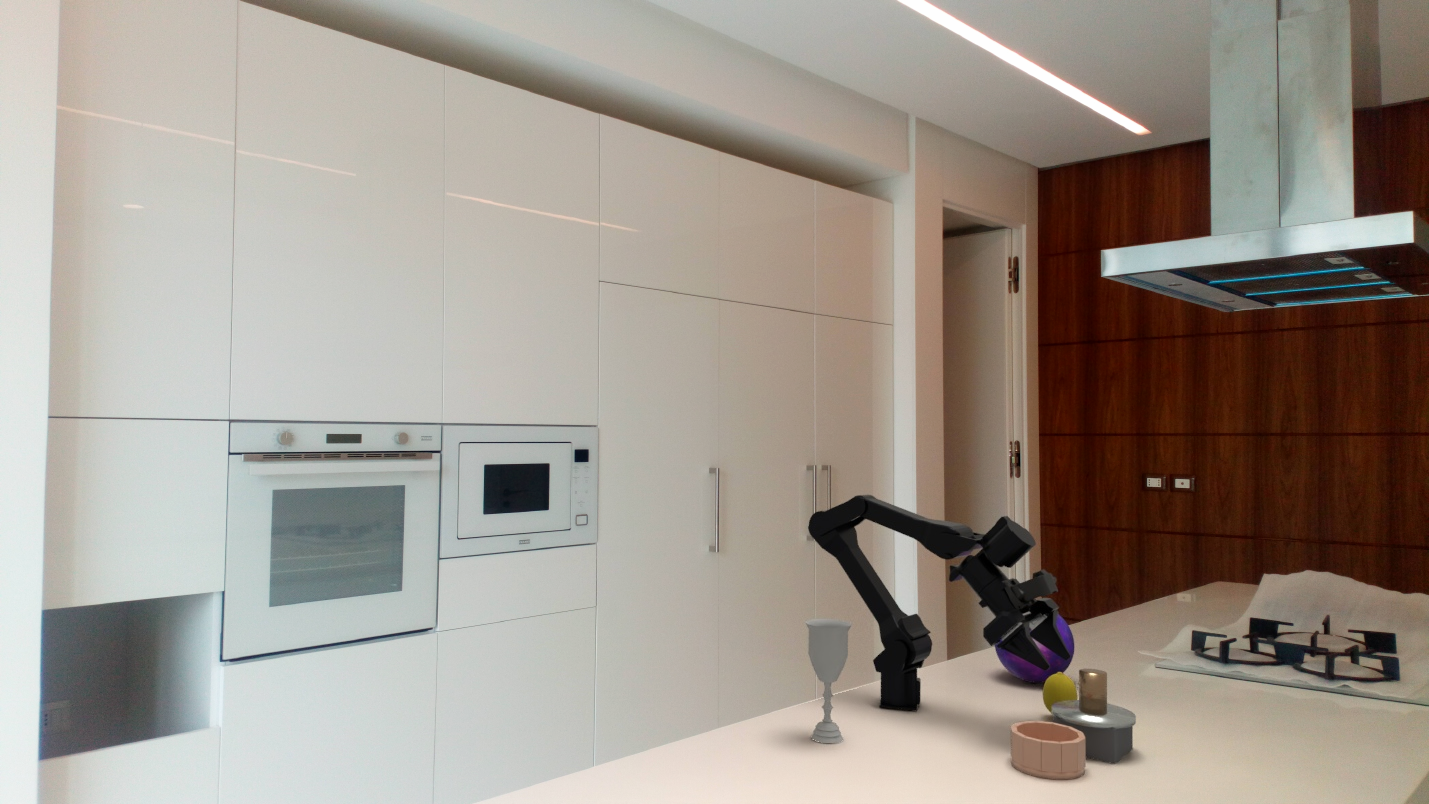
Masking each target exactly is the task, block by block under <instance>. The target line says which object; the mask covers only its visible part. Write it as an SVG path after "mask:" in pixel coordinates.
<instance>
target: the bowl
mask: <svg viewBox="0 0 1429 804" xmlns="http://www.w3.org/2000/svg"><path fill="white" fill-rule="evenodd" d="M1010 757H1011V758H1010V763H1011V765H1012V767H1013V768H1014V769H1016V770H1018V771H1019V772H1021V773H1023V774H1026V775H1029V776H1033V777H1038V778H1042V779H1047V780H1048V779H1049V780H1073V779H1078V778H1081V777H1083V775H1084V774H1085V768H1086V757H1085V736H1084V734H1083V732H1081V731H1079V730H1077V729H1075V728H1073V727H1070V726H1066V725H1062V724H1058V723H1053V721H1041V720H1029V721H1028V720H1027V721H1018V722H1016V723H1014V724H1012V725H1010Z"/></svg>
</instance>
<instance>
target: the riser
mask: <svg viewBox="0 0 1429 804" xmlns="http://www.w3.org/2000/svg"><path fill="white" fill-rule="evenodd" d="M1052 722H1053V723H1058V724H1062V725H1066V726H1070V727H1073V728H1075V729H1077V730H1079V731H1081V732H1083V734H1084V736H1085V758H1087V759H1092V760H1096V761H1101V762H1105V763H1110V764H1114V765H1115V764H1116V763H1118V762H1119V761H1120V760H1121V759H1123V758H1124V756H1126V755H1127V754H1128V753H1129V752H1130V751H1132V750H1133V749H1134V747H1133V743H1134V742H1133V741H1134V740H1133V730H1134V729H1133V727H1134V725H1133V726H1131V727H1127V728H1120V729H1104V728H1093V727H1086V726H1081V725H1076V724H1072V723H1069V722H1066V721H1063V720H1061V719H1059V718H1057V717H1055V716H1054V715H1053V716H1052Z"/></svg>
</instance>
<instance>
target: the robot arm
mask: <svg viewBox="0 0 1429 804" xmlns="http://www.w3.org/2000/svg"><path fill="white" fill-rule="evenodd" d="M866 520H868V521H870V522H872V523H874V524H877V525H880V526H882V527H884V528H887V529H890V530H892V531H894V532H897V533H899V534H902V535H903V536H906V537H909V538H912V539H914V540H915V541H917V542H919V544H921V545H922V546H923V547H924V548H925V549H926V551H929V552H930V553H932V554H933V555H935V556H937V557H938V558H940V559H942V560H946V561H947V560H953V559H960V558H963V557H964V559H963V560H962V561H961V562H959V564H951V565H950V566H949V575H948V581H949V582H951V583H953V582H958V581H960V580H962V579H963V580H964V582H966V584H967V585H968V586H969V587H970V588H971V590H972V591H973V592H974V593H975V594H976V596H977V597H978V598H979V599H980V601H979V602H978V605H979V606H980V607H981V608H982V609H984V608H988V609H989V611H990V612H991V613H992V614H993V616H994V618H992V620H991V621H990V622H989V623H988V624H987V625H985V626H984V627H983V630H982V631H983V633H982V634H983V635H982V636H983V638H984V639H985V641H986V643H988V644H989V646H990V647H994V646H995V645H996V644H998V643H999V642H1000V639H1001V640H1002V642H1001V643H1000V644H998V645H997V648H999V649H1003V650H1005V651H1007V652H1009V653H1011V654H1013V655H1016V656H1018V657H1020V658H1021V659H1023V660H1025V661H1027V662H1029V663H1031V664H1033V665H1035V666H1037V667H1039V668H1040V669H1042V670H1044V671H1046V670H1048V669H1049V668H1050V664H1049V663H1048V661H1047V660H1046V658H1045V657H1044V655H1043V654H1042V652H1041V651H1040V649H1039V648H1038V646H1037V645H1036V643H1035V642H1034V640H1036V641H1037V642H1039V643H1040V644H1042V645H1043V646H1045V647H1046V648H1048V649H1049V650H1051V651H1052V652H1053V653H1055V654H1056V655H1058V656H1059V657H1061V658H1063V659H1064V660H1068V659H1069V658H1071V655H1070V653H1069V651H1068V648H1067V646H1066V644H1065V642H1064V640H1063V638H1062V636H1061V634H1060V632H1059V630H1058V627H1057V615H1058V614H1059V615H1060V613H1059V610H1058V609H1059V608H1060V606H1059V605H1058V604H1057V603H1056V602H1055V601H1054V599H1052V598H1049V597H1046V596H1049V595H1052V594H1055V593H1058V592H1059V590H1058V587H1057V585H1056V584H1057V580H1058V579H1057V577H1056V576H1053V574H1052V572H1048V571H1046V569H1040V570H1038V571H1035V572H1032V578H1030V579H1028V580H1025V581H1023V582H1020V581H1019V580H1018V579H1016V578H1009V577H1007V576H1006V574H1005V573H1004V572H1003V571H1002V570H1001V569H1000V568H1003V567H1005V568H1009V569H1012V568H1013V567H1014V566H1015V565H1016V564H1017V563H1018V562H1019V561H1021V559H1022V558H1023V557H1024V556H1025V555H1027V554H1028V552H1030V551H1031V550H1032V549H1033V548H1034V547H1035V546H1036V544H1037V543H1036V540H1035V538H1034V536H1033V535H1032V533H1030V531H1029V530H1028V529H1027V528H1024V527H1023V526H1021V525H1020V524H1019V523H1018V522H1016V521H1015V520H1012V519H1011V518H1010V517H1009V516H1008V515H1004V516H1000V518H999V519H998V520H996V522H995V524H994V525H993V526H992V527H991V528H990V529H989V530H988V531H987V532H986V533H978V532H975V531H973V529H972V528H971V527H970V526H968V525H966V524H964V523H959V522H954V521H948V520H940V519H933V518H929V517H925V516H923V515H919V514H918V513H915V512H912V511H909V510H907V509H904V508H903V507H899V506H896V505H894V504H892V503H889V502H886V501H884V500H881V499H878V498H877V497H875V496H874V495H872V494H859V495H854V496H853V497H851V498H850V499H849V500H847V501H844V502H842V503H841V504H838V505H836V506H834V507H831V508H828V509H827V510H818V511H815V512H813V514H812V515H811V516H810V518H809V521H808V526H807V529H808V533H809V535H810V537H812V539H813V540H814V541H815V542H816V543H817V545H819V547H820V548H821V549H823V551H825V552H827V553H828V554H830V556H833V557H834V558H835V559H836V561H837V562H838V564H839V565H840V566H841V568H842V571H844V573H845V574H846V575H847V577H848V579H849V581H850V582H851V583H852V586H854V588H855V590H856V591H857V593H858V594H859V596H860V598H861V599H862V601H863V602H864V604H865V605H866V607H867V608H868V610H869V611H870V613H871V614H872V616H873V618H874V619H875V621H876V622H877V626H878V630H879V636H880V642H881V644H882V646H883V648H884V649H883V650H882V651H881V652H880V653H878V655H877V656H875V657H874V659H873V660H872V662H873V666H874V669H875V672H877V673H880V700H879V703H878V706H879V708H882V709H892V710H893V709H894V710H902V711H903V710H904V711H914V712H915V711H916V712H917V710H918V706H920V705H921V692H922V691H921V687H922V686H921V683H922V682H921V680H922V679H921V678H920V677H918V669H921V668H922V667H923V665H924V662H925V660H926V659H927V658H928V657H930V655H931V652H932V651H933V650H932V647H933V641H932V639H931V636H930V635H929V634H932V632H931V630H929V629H928V628H927V627H926V626H925V623H923V620H922V619H921V617H920V616H919V615H918V613H914V614H910V615H908V614H907V613H905V612H904V611H903V610H902V609H901V608H900V606H899V604H898V603H897V602H896V601H895V599H894V597H893V596H892V595H891V593H890V592H889V590H888V588H887V587H886V585H885V584H884V582H883V581H882V579H881V578H880V576H879V575H878V573H877V572H876V570H875V569H874V567H873V565H872V564H871V562H870V561H869V559H868V558H867V556H866V555H865V554H864V552H863V551H862V549H861V547H860V545H859V541H858V534H857V533H858V532H857V530H856V527H857V526H859V525H861V524H863V523H864V521H866ZM974 550H979V552H977V553H976V554H974V555H973V554H972V552H974ZM1037 598H1038V599H1037ZM1031 630H1032V631H1031ZM1030 631H1031V632H1030ZM1031 637H1032V638H1033V639H1034V640H1033V639H1032V638H1031Z"/></svg>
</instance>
